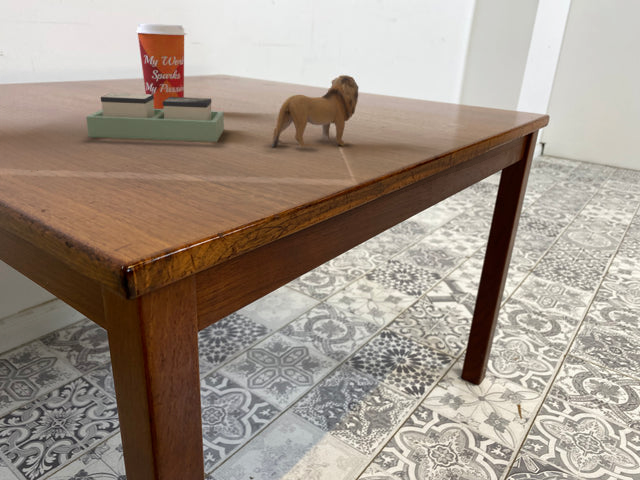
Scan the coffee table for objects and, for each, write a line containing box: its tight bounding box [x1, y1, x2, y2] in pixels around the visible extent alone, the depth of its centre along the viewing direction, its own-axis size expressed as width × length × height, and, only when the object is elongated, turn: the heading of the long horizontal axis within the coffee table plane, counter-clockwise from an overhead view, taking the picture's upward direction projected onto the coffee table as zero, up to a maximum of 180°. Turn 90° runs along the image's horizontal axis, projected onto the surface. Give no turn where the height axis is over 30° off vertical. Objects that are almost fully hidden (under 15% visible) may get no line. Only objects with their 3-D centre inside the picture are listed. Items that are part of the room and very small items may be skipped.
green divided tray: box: [85, 109, 225, 143], centre depth 70 cm, size 8×16×3 cm, turn 93°
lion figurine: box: [271, 74, 359, 148], centre depth 69 cm, size 15×5×9 cm, turn 134°
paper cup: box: [135, 22, 188, 109], centre depth 84 cm, size 8×8×14 cm
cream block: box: [100, 92, 155, 118], centre depth 69 cm, size 6×4×4 cm
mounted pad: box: [163, 96, 212, 121], centre depth 70 cm, size 6×4×4 cm
